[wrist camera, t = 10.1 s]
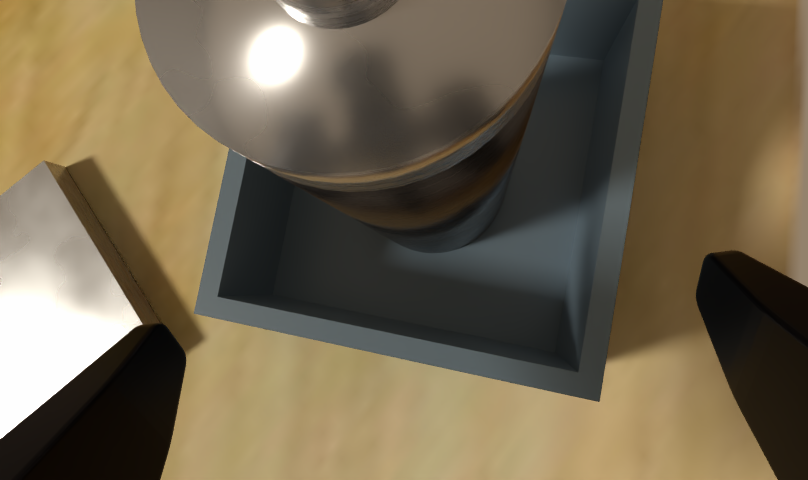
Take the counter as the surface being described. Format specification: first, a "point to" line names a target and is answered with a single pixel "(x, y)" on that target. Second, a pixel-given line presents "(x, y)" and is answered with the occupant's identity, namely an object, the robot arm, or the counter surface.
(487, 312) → the bin
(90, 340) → the plate
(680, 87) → the counter surface
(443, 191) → the battery
